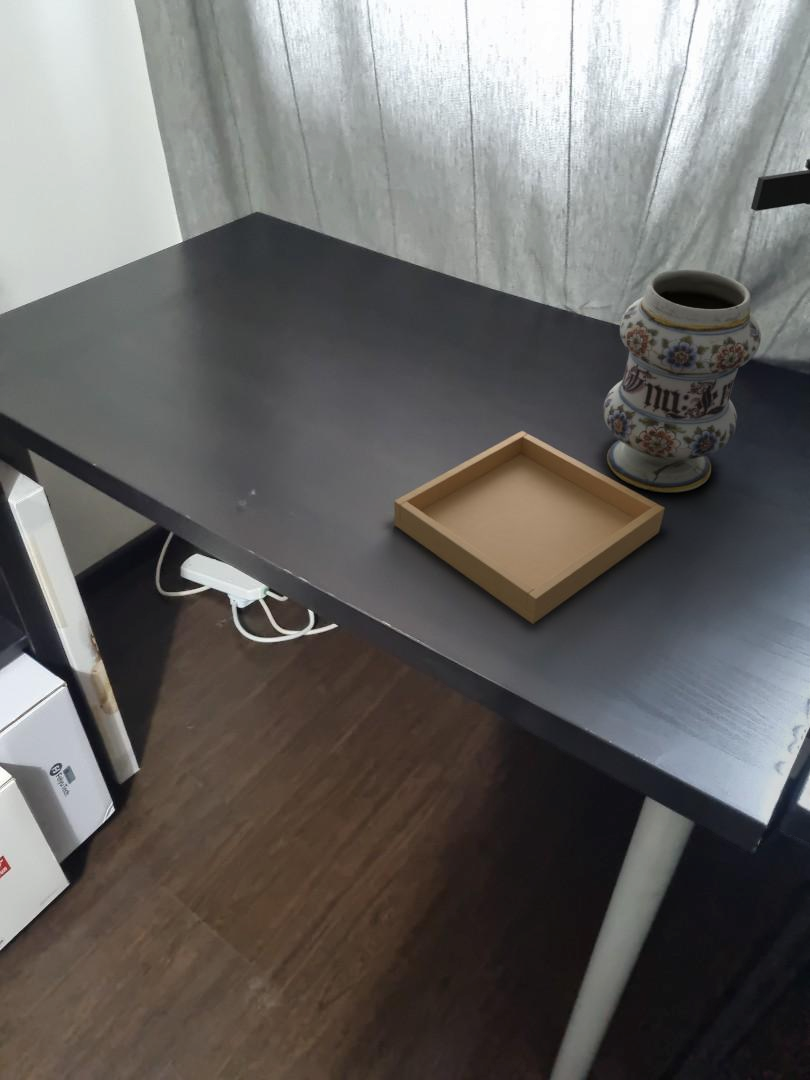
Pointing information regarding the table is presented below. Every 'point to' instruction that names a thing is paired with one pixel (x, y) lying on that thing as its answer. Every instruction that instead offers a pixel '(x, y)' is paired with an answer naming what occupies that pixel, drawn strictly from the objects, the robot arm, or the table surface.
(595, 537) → the tray
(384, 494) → the table surface
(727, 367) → the apothecary jar
